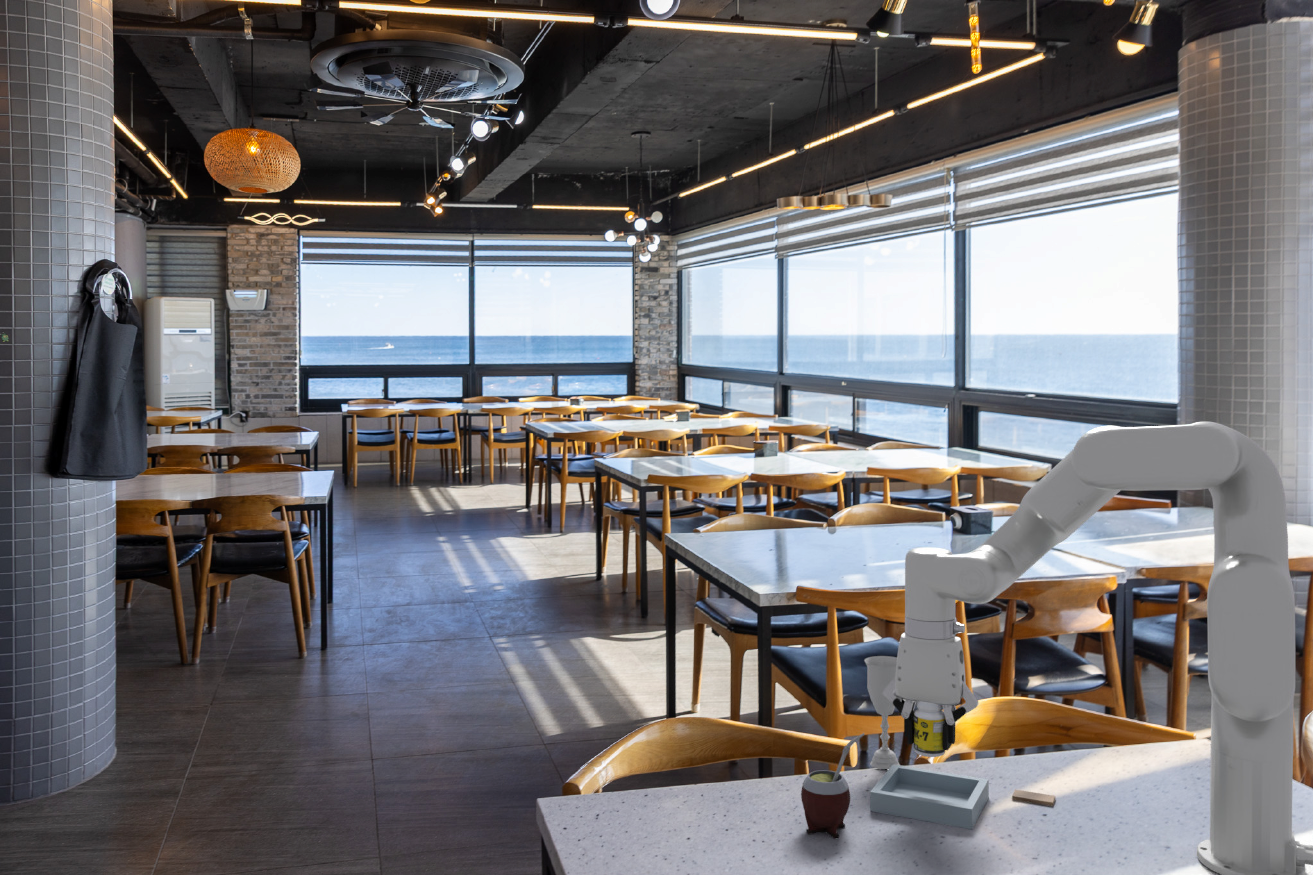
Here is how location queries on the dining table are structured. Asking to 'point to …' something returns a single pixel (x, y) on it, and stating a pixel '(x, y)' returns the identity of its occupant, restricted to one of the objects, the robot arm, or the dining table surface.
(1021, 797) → the walnut pad
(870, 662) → the chalice
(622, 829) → the dining table surface
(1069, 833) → the dining table surface
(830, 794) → the mate gourd
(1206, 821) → the dining table surface
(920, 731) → the supplement bottle
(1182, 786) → the dining table surface
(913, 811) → the tray
